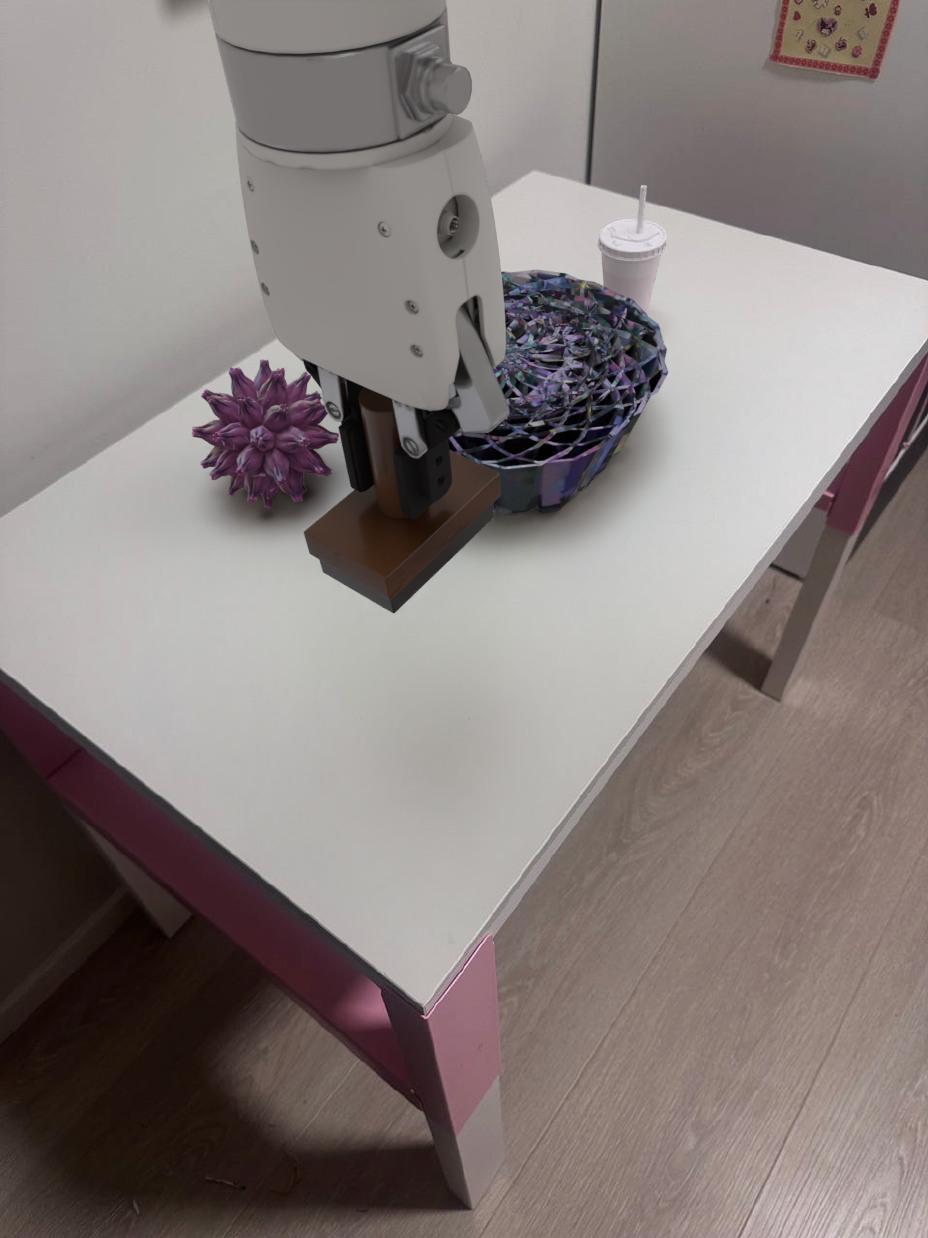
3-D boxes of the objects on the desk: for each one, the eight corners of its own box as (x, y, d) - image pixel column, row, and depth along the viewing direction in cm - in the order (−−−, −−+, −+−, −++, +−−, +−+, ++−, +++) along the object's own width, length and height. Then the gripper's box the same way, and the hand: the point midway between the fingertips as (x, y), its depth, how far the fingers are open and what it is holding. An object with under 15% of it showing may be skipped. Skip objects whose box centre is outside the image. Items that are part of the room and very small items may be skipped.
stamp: (424, 478, 50) (405, 328, 43) (501, 516, 48) (495, 364, 40) (314, 574, 46) (272, 426, 39) (394, 620, 44) (365, 472, 36)
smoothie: (660, 344, 87) (679, 201, 76) (594, 346, 87) (604, 205, 76) (652, 308, 91) (668, 168, 80) (589, 311, 91) (598, 172, 80)
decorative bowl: (311, 485, 79) (282, 398, 71) (477, 315, 91) (467, 224, 83) (562, 595, 69) (560, 507, 61) (710, 386, 81) (724, 291, 73)
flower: (271, 561, 73) (175, 481, 76) (372, 479, 78) (278, 408, 81) (252, 470, 63) (143, 384, 66) (369, 383, 68) (263, 307, 71)
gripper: (604, 84, 28) (580, 509, 42) (257, 10, 35) (336, 395, 49) (459, 176, 24) (485, 606, 39) (104, 73, 31) (237, 469, 46)
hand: (401, 485), depth 44 cm, fingers closed on stamp, 2 cm apart
